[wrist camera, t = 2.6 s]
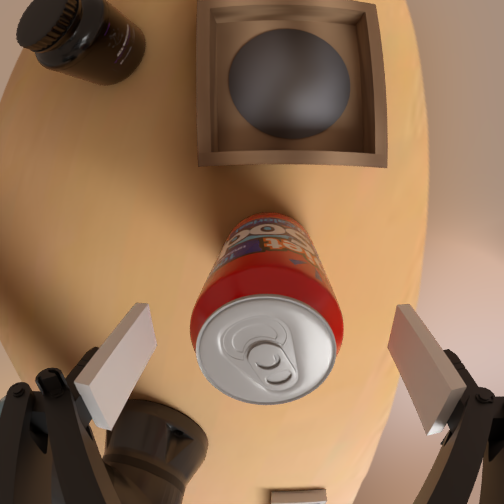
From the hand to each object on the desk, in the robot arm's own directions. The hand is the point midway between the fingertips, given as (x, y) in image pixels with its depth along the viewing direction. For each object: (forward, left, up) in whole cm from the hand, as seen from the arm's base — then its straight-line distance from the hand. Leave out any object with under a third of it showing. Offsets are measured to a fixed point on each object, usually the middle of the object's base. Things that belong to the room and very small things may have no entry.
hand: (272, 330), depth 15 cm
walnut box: (+2, +15, -13) cm, 20 cm away
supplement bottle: (-14, +20, -13) cm, 28 cm away
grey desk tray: (+6, -53, -13) cm, 55 cm away
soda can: (0, 0, -13) cm, 13 cm away
